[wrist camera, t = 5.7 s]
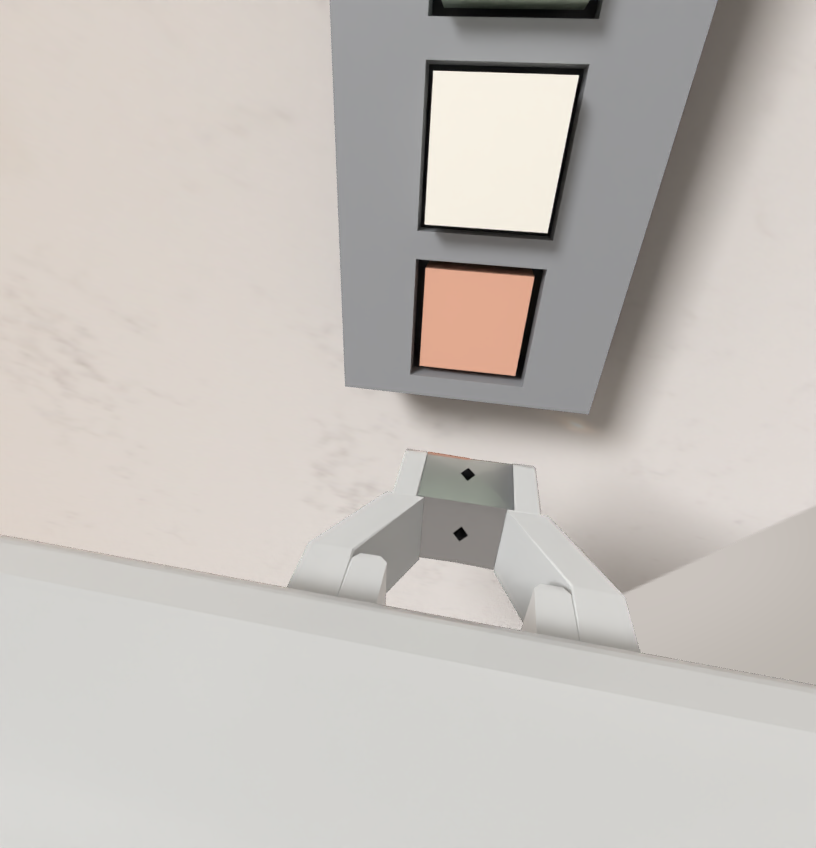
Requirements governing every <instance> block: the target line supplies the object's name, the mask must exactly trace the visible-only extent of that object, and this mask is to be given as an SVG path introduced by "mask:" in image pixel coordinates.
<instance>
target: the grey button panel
mask: <svg viewBox="0 0 816 848" xmlns="http://www.w3.org/2000/svg"><path fill="white" fill-rule="evenodd" d="M717 1H718V0H590V1H589V3H588V4H587V6H586V7H585V9H584V10H556V9H489V8H444V6H443V3H442V0H330V18H331V43H332V68H333V93H334V118H335V143H336V168H337V193H338V218H339V243H340V268H341V293H342V318H343V343H344V368H345V386H347V387H356V388H364V389H373V390H382V391H390V392H399V393H408V394H416V395H425V396H434V397H442V398H451V399H460V400H468V401H477V402H486V403H495V404H503V405H512V406H521V407H529V408H538V409H547V410H555V411H564V412H573V413H581V414H589V412H590V408H591V405H592V402H593V399H594V396H595V392H596V389H597V386H598V383H599V380H600V376H601V373H602V370H603V367H604V364H605V360H606V357H607V354H608V351H609V347H610V344H611V341H612V338H613V335H614V331H615V328H616V325H617V322H618V319H619V315H620V312H621V309H622V306H623V303H624V299H625V296H626V293H627V290H628V287H629V283H630V280H631V277H632V274H633V271H634V267H635V264H636V261H637V258H638V255H639V251H640V248H641V245H642V242H643V238H644V235H645V232H646V229H647V226H648V222H649V219H650V216H651V213H652V210H653V206H654V203H655V200H656V197H657V194H658V190H659V187H660V184H661V181H662V178H663V174H664V171H665V168H666V165H667V162H668V158H669V155H670V152H671V149H672V145H673V142H674V139H675V136H676V133H677V129H678V126H679V123H680V120H681V117H682V113H683V110H684V107H685V104H686V101H687V97H688V94H689V91H690V88H691V85H692V81H693V78H694V75H695V72H696V69H697V65H698V62H699V59H700V56H701V53H702V49H703V46H704V43H705V40H706V36H707V33H708V30H709V27H710V24H711V20H712V17H713V14H714V11H715V8H716V4H717ZM433 71H461V72H493V73H525V74H557V75H579V78H578V83H577V88H576V93H575V98H574V103H573V108H572V113H571V118H570V123H569V128H568V133H567V138H566V143H565V148H564V153H563V158H562V163H561V168H560V173H559V178H558V183H557V188H556V193H555V198H554V203H553V208H552V213H551V218H550V223H549V228H548V233H537V232H523V231H509V230H495V229H481V228H467V227H453V226H439V225H425V207H426V189H427V172H428V155H429V137H430V120H431V103H432V85H433ZM430 260H434V261H446V262H459V263H471V264H483V265H496V266H508V267H521V268H532V271H533V274H534V282H533V287H532V292H531V297H530V303H529V308H528V313H527V318H526V323H525V328H524V333H523V339H522V344H521V349H520V354H519V359H518V364H517V369H516V375H515V376H511V375H502V374H493V373H483V372H474V371H465V370H455V369H446V368H437V367H428V366H420V350H421V334H422V318H423V302H424V285H425V269H426V266H427V265H428V263H429V261H430Z"/></svg>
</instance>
